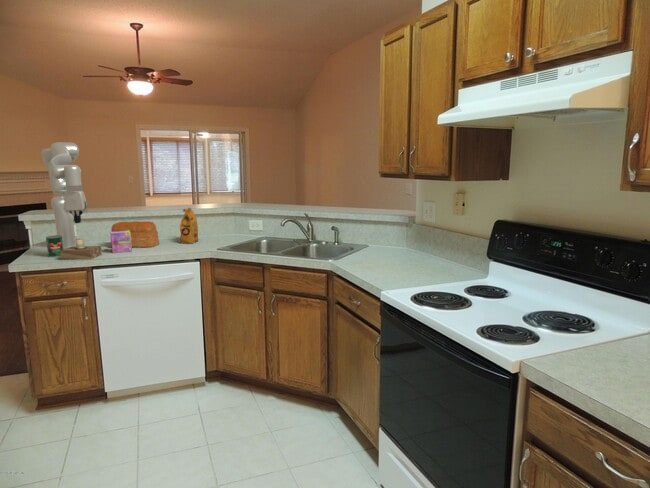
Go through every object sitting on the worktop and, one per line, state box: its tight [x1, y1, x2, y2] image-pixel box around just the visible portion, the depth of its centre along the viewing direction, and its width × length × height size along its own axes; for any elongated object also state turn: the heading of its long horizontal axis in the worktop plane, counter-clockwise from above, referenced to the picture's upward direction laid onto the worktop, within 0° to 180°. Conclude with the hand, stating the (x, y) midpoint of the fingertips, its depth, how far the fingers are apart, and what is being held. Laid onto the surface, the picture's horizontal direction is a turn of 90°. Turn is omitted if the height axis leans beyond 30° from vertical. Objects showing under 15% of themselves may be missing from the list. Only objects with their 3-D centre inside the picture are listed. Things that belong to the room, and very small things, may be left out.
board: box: [60, 245, 103, 261], centre depth 249 cm, size 12×16×5 cm
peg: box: [75, 238, 86, 249], centre depth 249 cm, size 4×4×10 cm
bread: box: [110, 220, 160, 248], centre depth 281 cm, size 14×27×15 cm, turn 91°
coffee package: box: [179, 206, 199, 245], centre depth 289 cm, size 10×12×22 cm
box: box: [109, 230, 133, 254], centre depth 263 cm, size 10×6×12 cm, turn 117°
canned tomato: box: [45, 234, 64, 258], centre depth 254 cm, size 8×8×11 cm
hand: (77, 222), depth 247 cm, fingers closed
